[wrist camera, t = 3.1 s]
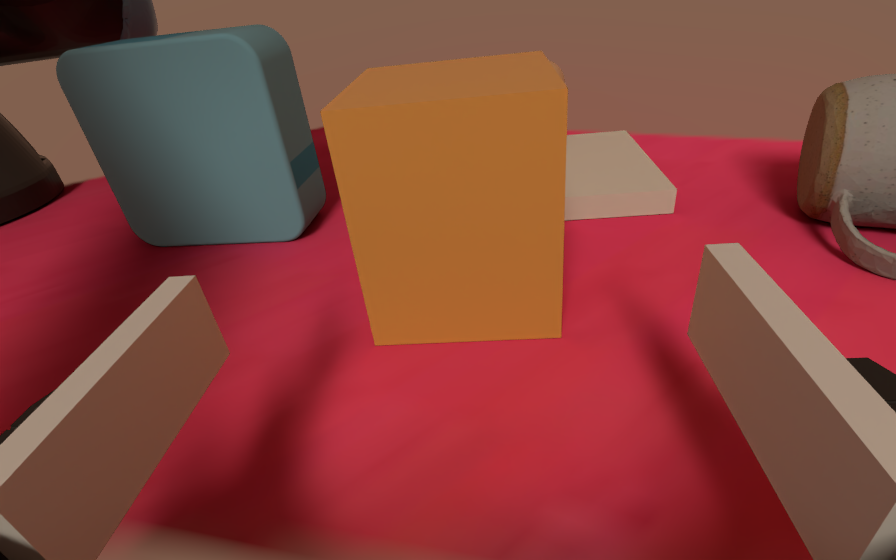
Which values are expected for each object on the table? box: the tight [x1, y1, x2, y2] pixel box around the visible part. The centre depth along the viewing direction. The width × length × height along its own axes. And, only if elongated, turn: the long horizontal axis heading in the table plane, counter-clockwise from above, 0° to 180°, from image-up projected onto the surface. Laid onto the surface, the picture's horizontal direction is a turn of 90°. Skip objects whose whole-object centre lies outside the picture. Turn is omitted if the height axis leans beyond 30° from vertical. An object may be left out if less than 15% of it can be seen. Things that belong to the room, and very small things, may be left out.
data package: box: [56, 25, 326, 247], centre depth 30 cm, size 12×4×12 cm, turn 84°
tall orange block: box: [320, 51, 568, 345], centre depth 22 cm, size 8×8×10 cm
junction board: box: [548, 60, 677, 220], centre depth 33 cm, size 18×12×8 cm, turn 87°
